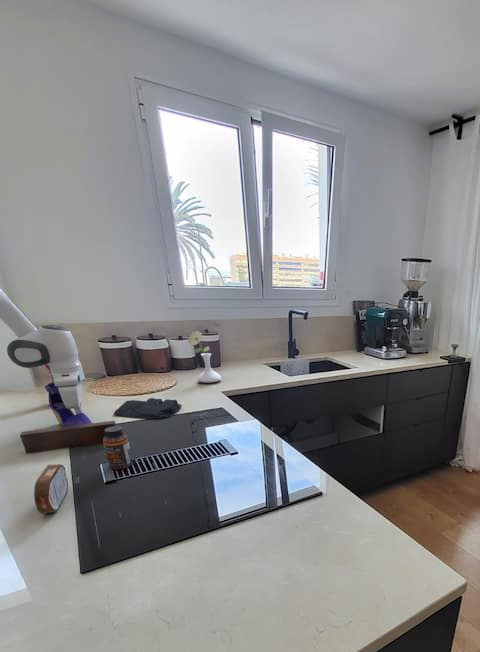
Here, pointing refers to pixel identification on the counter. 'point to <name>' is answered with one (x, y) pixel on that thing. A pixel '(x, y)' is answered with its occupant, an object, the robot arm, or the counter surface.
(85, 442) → the dark wooden plank
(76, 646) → the counter surface
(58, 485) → the tin
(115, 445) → the supplement bottle
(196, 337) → the flower in vase
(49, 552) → the counter surface
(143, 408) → the dark grey glove
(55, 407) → the sandal
